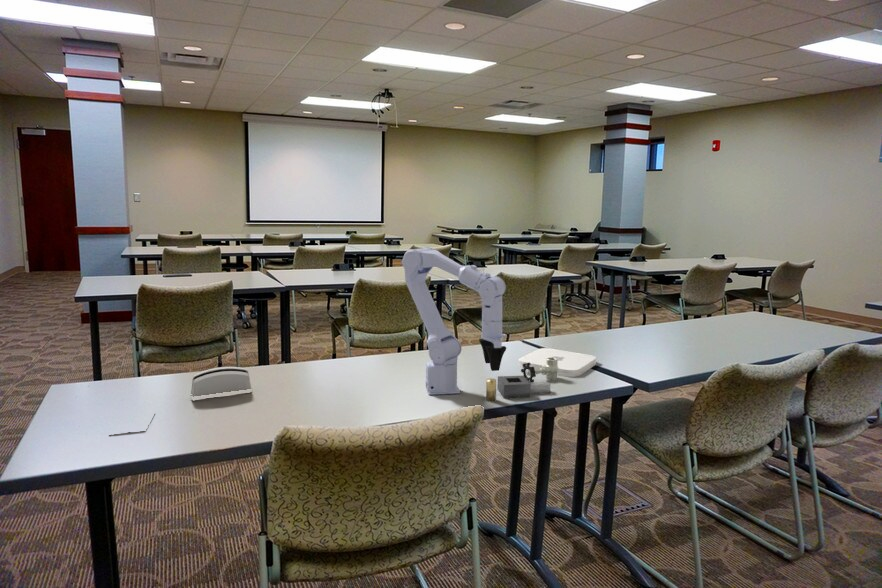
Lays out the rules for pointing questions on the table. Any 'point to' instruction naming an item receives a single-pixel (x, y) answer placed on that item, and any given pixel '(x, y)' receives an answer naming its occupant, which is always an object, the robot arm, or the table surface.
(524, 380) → the grey socket block
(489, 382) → the brass pin
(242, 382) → the grey rounded block
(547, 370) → the valve
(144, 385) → the table surface
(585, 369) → the computer
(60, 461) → the table surface
